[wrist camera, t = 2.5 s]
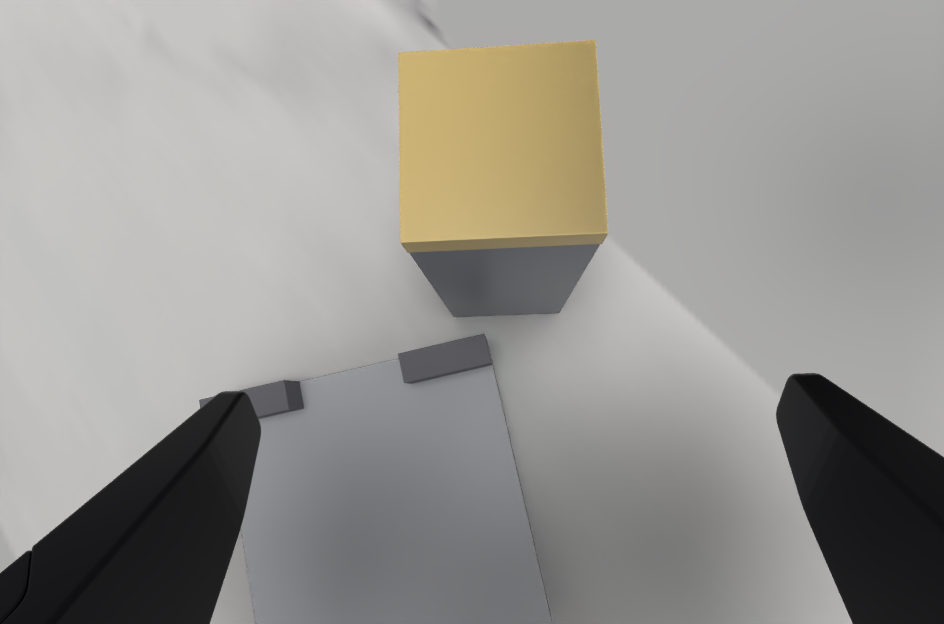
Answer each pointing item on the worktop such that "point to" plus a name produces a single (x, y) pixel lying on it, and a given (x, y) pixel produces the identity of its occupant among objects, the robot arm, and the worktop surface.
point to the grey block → (502, 173)
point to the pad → (390, 498)
